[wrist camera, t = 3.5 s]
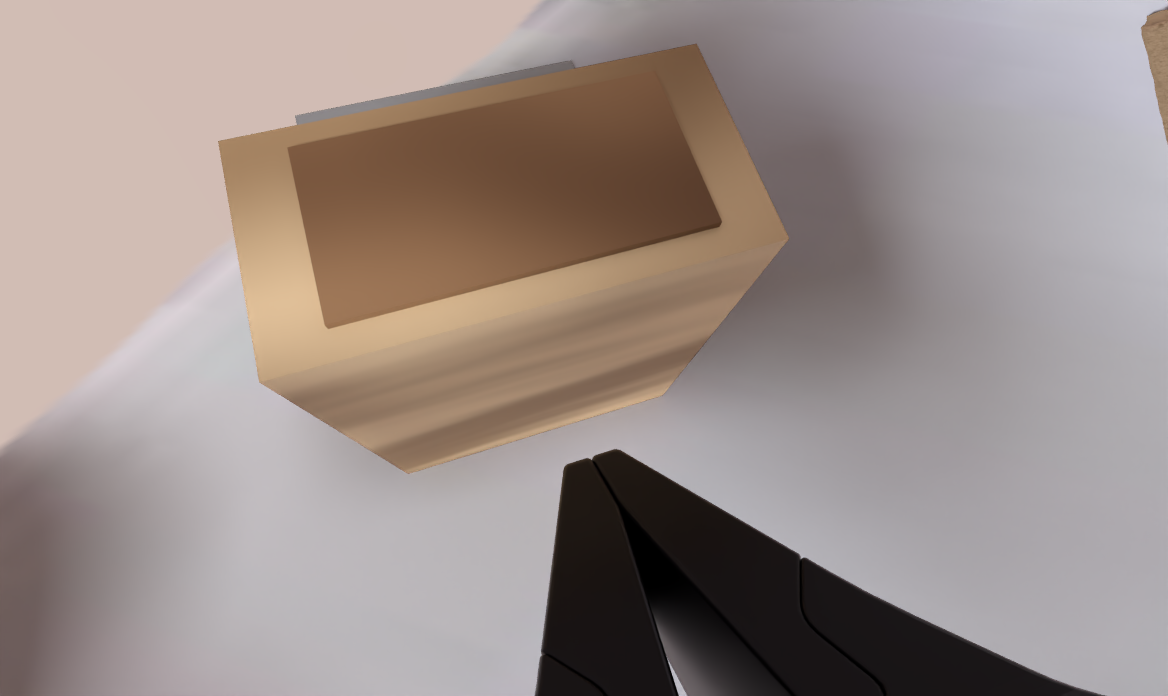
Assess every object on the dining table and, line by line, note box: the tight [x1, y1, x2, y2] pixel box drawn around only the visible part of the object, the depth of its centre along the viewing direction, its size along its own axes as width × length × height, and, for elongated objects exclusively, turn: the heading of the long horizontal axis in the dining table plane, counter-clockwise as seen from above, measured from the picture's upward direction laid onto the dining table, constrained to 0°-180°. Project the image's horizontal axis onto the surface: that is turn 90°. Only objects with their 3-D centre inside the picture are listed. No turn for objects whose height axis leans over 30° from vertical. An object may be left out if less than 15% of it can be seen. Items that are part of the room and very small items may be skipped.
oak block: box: [218, 44, 789, 474], centre depth 14 cm, size 4×8×10 cm, turn 108°
